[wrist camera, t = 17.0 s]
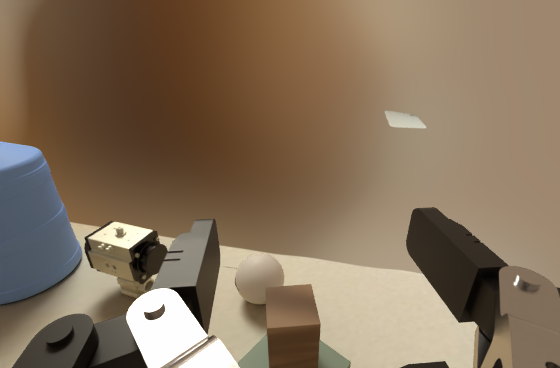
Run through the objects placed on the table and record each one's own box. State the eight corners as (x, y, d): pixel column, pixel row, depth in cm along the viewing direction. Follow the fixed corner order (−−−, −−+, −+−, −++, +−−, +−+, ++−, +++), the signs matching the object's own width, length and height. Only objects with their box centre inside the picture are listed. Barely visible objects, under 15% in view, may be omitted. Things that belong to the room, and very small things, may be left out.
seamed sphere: (293, 289, 46) (293, 252, 42) (266, 324, 40) (264, 284, 37) (244, 267, 51) (241, 232, 47) (214, 294, 45) (208, 257, 42)
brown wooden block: (316, 388, 31) (320, 324, 27) (270, 392, 31) (266, 328, 26) (309, 344, 35) (311, 284, 31) (268, 348, 35) (265, 287, 31)
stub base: (298, 451, 27) (298, 405, 24) (230, 379, 33) (223, 335, 30) (349, 369, 34) (355, 326, 31) (285, 323, 40) (284, 282, 37)
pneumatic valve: (122, 271, 50) (102, 213, 45) (177, 288, 46) (163, 226, 41) (94, 295, 45) (68, 232, 40) (153, 315, 42) (133, 249, 36)
